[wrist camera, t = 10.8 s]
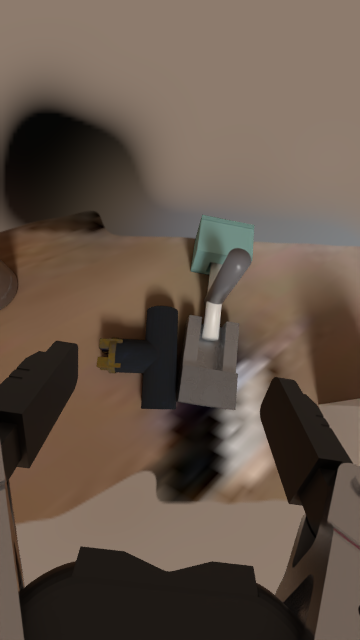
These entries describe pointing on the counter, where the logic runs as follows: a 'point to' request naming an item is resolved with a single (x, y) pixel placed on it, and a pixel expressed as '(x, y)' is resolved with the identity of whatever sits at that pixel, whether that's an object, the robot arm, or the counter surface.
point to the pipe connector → (148, 358)
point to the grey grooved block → (208, 366)
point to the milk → (345, 425)
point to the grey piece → (222, 288)
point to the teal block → (219, 242)
